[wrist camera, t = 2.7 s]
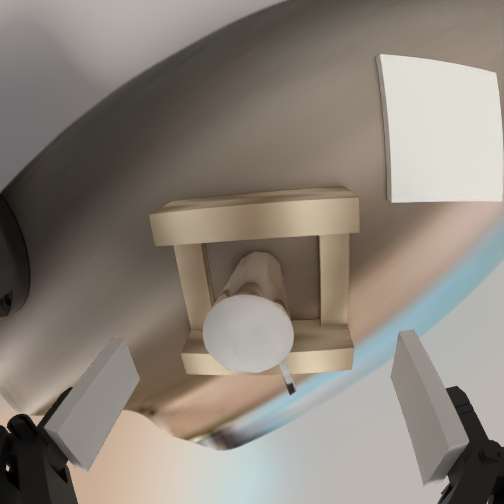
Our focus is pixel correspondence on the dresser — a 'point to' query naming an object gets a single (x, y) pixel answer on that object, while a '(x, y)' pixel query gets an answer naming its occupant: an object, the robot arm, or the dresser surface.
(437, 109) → the pad
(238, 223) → the pocket holder
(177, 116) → the dresser surface
